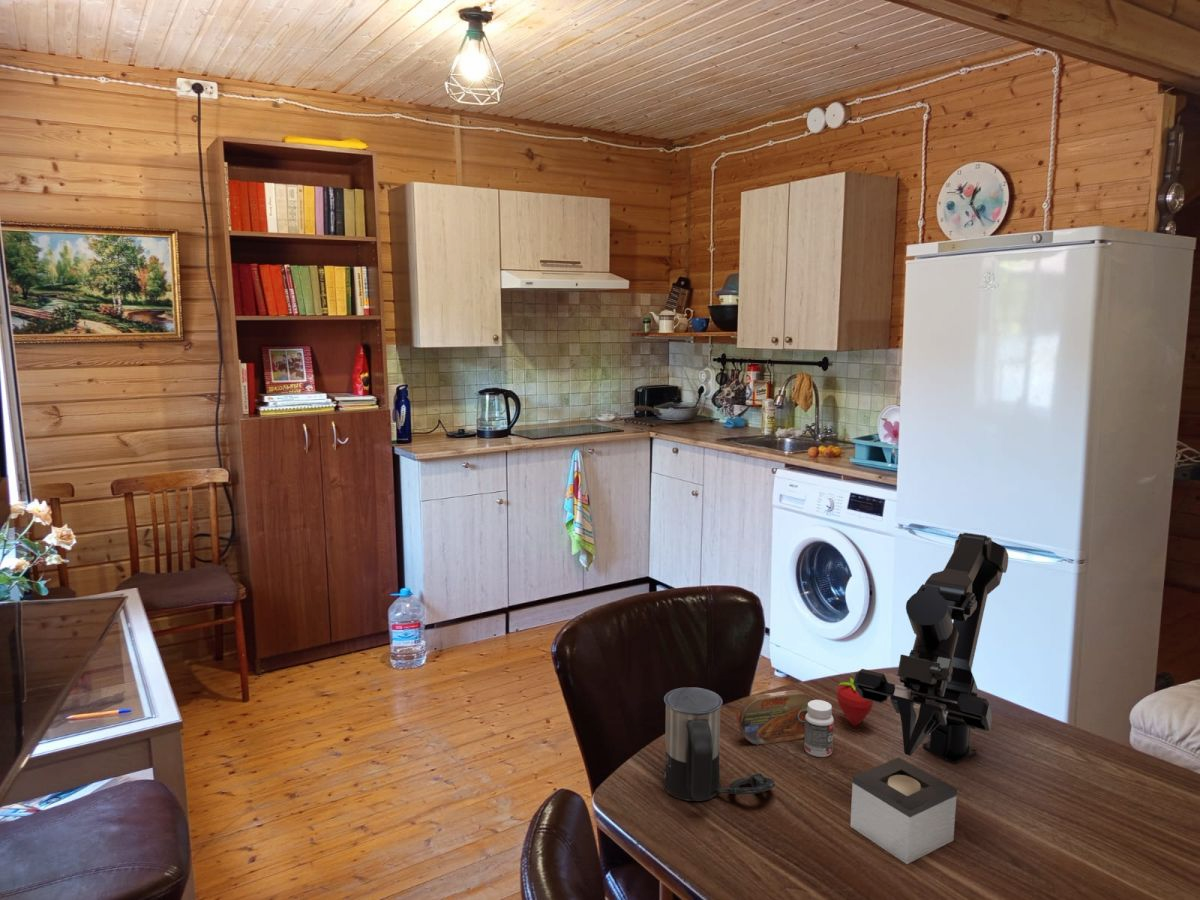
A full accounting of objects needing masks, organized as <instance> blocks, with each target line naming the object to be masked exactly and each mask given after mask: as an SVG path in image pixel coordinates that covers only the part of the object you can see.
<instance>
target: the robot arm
mask: <svg viewBox="0 0 1200 900" xmlns="http://www.w3.org/2000/svg"><path fill="white" fill-rule="evenodd" d="M1008 565H1009V553H1008V551H1007V549H1006V547H1005V546H1003V545H1001V544H1000V543H999V544H998V543H997V542H995V541H993V540H992V537H988V536H987V535H984V534H977V533H968V532H963V533H959V534H958V537H957V539H955V542H954V546H953V552H952V554H951V555H950V557H949V559H948V562H947V563H946V565H945V567H944V568H943V570H941V571H937V572H933V573H931V574H930V575H929V577H928V578H927V579H926V580H925V582H924V584H921V585H920V587H919V589H918V590H917V591H916V592H915V593H914V594H912V595H911V596H910V597H909V598H908V600H906V603H905V611H906V614H907V618H908V620H909V623H910V627H911V629H912V631H913V633H914V634H915V639H914V644H913V647H912V649H911V650H910V652H909V655H907V654H906V655H905V654H900V657H899V662H898V667H897V668H898V669H897V674H896V676H897V677H899V682H900V683H902V684H903V685H897V684H894V683H890V682H889V681H888V679H887V678H886V675H885V674H884V673H880V672H876V671H873V670H868V669H864V668H861V669H860V670H858V671H857V672H856V673H855V676H854V678H855V679H854V678H853V680H854V682H853V684H854V686H855V688H856V690H857V692H858V694H859V696H860V697H862V698H863V699H867V700H870V701H873V703H879V704H882V703H883V702H886V701H888V698H889V697H890V702H891V704H892V706H893V709H894V710H895V712H896V713H898V714H899V716H900V722H901V730H902V731H901V732H902V743H903V744H902V745H903V752H904V755H907V756H909V757H910V756H912V755H913V754H914V752H915V751H916V750H917V749H918V748H919V746H920V745H921V744H922V742H923V741H925V739H926V738H927V737H928V736H929V735H930V736H929V740H928V741H927V742H925V743H923V744H922V748H923V749H925V750H926V751H928V752H931V753H932V754H935V755H937V756H938V757H940V758H942V759H943V760H945V761H948V762H950V763H952V764H957V763H960V762H961V761H963V760H965V759H968V758H971V757H972V756H974V755H977V754H978V750H977V749H976V748H973V747H971V746H970V739H971V738H970V736H971V729H973V730H976V729H977V730H979V731H980V730H981V731H984V732H989V731H991V726H992V720H993V713H992V708H991V704H990V703H989V701H988V700H987V698H984V697H980V694H979V693H978V690H979V689H978V686H977V682H976V680H975V676H974V675H973V671H972V668H973V665H974V664H973V663H974V660H975V659H974V658H975V653H976V651H977V646H978V641H979V636H980V632H981V627H982V621H983V617H984V612H985V607H986V602H987V598H988V595H989V594H991V593H992V592H993V591H994V590H995V589H997V587H998V586H1000V584H1001V582H1002V577H1003V573H1005V574H1006V573H1007V570H1008ZM915 705H920V706H919V711H918V714H917V713H916V710H915V708H914V707H915ZM917 715H918V716H917Z"/></svg>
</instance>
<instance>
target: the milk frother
mask: <svg viewBox="0 0 1200 900" xmlns="http://www.w3.org/2000/svg"><path fill="white" fill-rule="evenodd" d="M663 701H664V704H665V741H664V742H665V752H664V753H665V754H664V755H665V757H664V758H665V762H664V763H665V767H664V768H665V769H664V779H663V781H662V784H663V787H664V790H665V791H666V792H667V793H668V794H669V795H670V796H672V797H674V798H676V799H679V800H684V801H689V802H704V801H708V800H710V799H713V798H715V797H717V796H718V794H719V793H721V794H731V795H752V794H754V795H755V794H760V793H763V792H766V791H770V790H771V789H773V788H774V787H776V786H775V780H774V779H773V778H770V777H765V776H763V775H762V773H761V772H757V773H753V774H751V775H750V776H749V777H742V778H738V779H736V780H734V781H731V783H730V784H729V785H728V788H724V787H722V782H721V781H720V742H721V741H720V740H721V739H720V735H721V733H720V732H721V707H722V705H723V699H722V697H721V696H720V695H719V694H718V693H716V692H714V691H712V690H710V689H706V688H701V687H695V686H694V687H692V686H691V687H679V688H674V689H672V690H669V691H668V692H666V694H665V695H664V697H663ZM749 783H750V784H751V787H748V786H747V787H745V786H743V787H740V786H742V785H746V784H749Z"/></svg>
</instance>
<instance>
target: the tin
mask: <svg viewBox="0 0 1200 900" xmlns="http://www.w3.org/2000/svg"><path fill="white" fill-rule="evenodd" d="M812 700H815V699H814V697H812V696H810V695H809V694H807V693H806V692H804V691H802V690H799V689H790V690H781V691H775V692H768V693H762V694H761V693H759V694H754V695H751V696H749V697H747V698H746V699H745V700H744V701H743V702H742V703H741V704H740V705H739V708H738V710H737V714H736V723H737V724H736V725H737V728H738V730H739V731H740V733H741V734H742V735H743V737H744V738H745V740H747V741H748V742H749V743H751V744H753V745H759V744H764V745H769V743H770V744H775V743H776V742H777V743H782V742H788V741H796V740H801V739H805V716H806V714H807V713H808V711H807V708H808V703H809V702H810V701H812Z"/></svg>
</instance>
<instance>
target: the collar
mask: <svg viewBox="0 0 1200 900" xmlns="http://www.w3.org/2000/svg"><path fill="white" fill-rule="evenodd" d="M894 775H905V776H909V777H912V778H914V779H915V780H917V781H918V782H919V783H920V785H921V788H920V791H918V792H916V793H913V794H911V795H909V796H906V795H904V794H902V793H901V792H899V791H897V790H896V789H894V788H892V787H890V786H889V785H888V779H889V777H891V776H894ZM851 788H852V789H851V803H850V804H851V805H850V807H851V808H850V828H852V829H853V830H855V832H858V833H859V834H860V835H862V836H864V837H865V838H867V839H868V840H870V841H871V842H873V843H874V844H875V845H877V846H879V847H880V848H882V849H883V850H884V851H886V852H887V853H889V854H891V855H892V856H894V857H895V858H896V859H897V860H899V861H901V862H903V863H904V864H905V865H909V864H911V863H913V862H914V861H916V860H919V859H921V858H922V857H924V856H926V855H928V854H930V853H932V852H933V851H936V850H939V849H940V848H942V847H943V846H945V845H947V844H949V843H951V842H954V836H955V822H956V811H957V810H956V809H957V795H958V788H956V787H954V786H953V785H951V784H949V783H947V782H945V781H943V780H942V779H939V778H937V777H936V776H934V775H932V774H930V773H928V772H927V771H925V770H923V769H921V768H920V767H917V766H916V765H914V764H912V763H910V762H909V761H908V760H907V761H906V760H905V759H903V758H901V757H896V758H894V759H892V760H889V761H887V762H884V763H881V764H879V765H877V766H874V767H872V768H870V769H867V770H865V771H863V772H860V773H857V774H856V775H852V786H851Z"/></svg>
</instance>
